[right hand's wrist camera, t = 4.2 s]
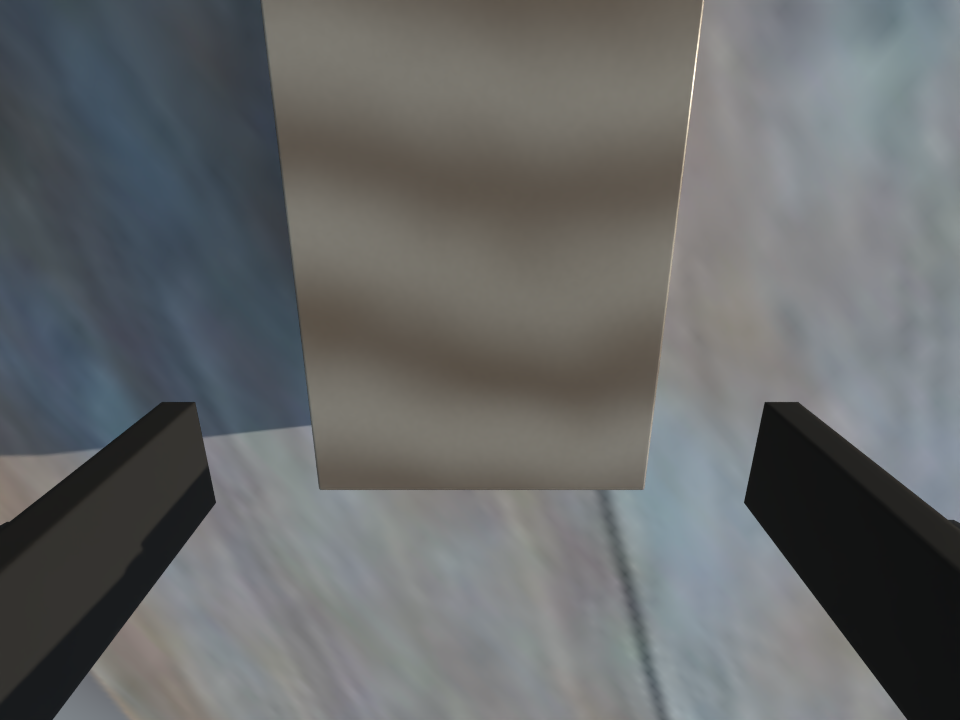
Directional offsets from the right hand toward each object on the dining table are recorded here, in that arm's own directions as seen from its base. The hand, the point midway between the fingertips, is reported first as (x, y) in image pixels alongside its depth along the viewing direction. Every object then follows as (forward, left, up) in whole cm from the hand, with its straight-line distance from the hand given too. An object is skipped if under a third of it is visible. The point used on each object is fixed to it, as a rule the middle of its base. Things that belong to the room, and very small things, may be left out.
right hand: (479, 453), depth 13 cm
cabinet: (+4, +4, -13) cm, 14 cm away
